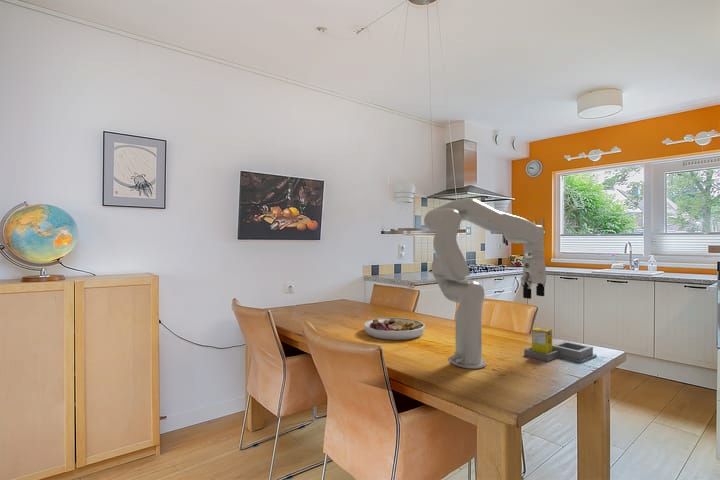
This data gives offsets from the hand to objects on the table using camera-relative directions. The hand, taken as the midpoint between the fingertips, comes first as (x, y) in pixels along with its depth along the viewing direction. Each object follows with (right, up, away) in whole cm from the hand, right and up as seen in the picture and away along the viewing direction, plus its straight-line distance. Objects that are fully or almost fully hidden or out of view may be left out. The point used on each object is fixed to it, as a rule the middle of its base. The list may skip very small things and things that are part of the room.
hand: (533, 297), depth 156 cm
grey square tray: (+2, -23, -3) cm, 24 cm away
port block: (+14, -23, -3) cm, 27 cm away
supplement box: (+2, -24, -3) cm, 24 cm away
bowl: (-54, -24, +34) cm, 68 cm away
